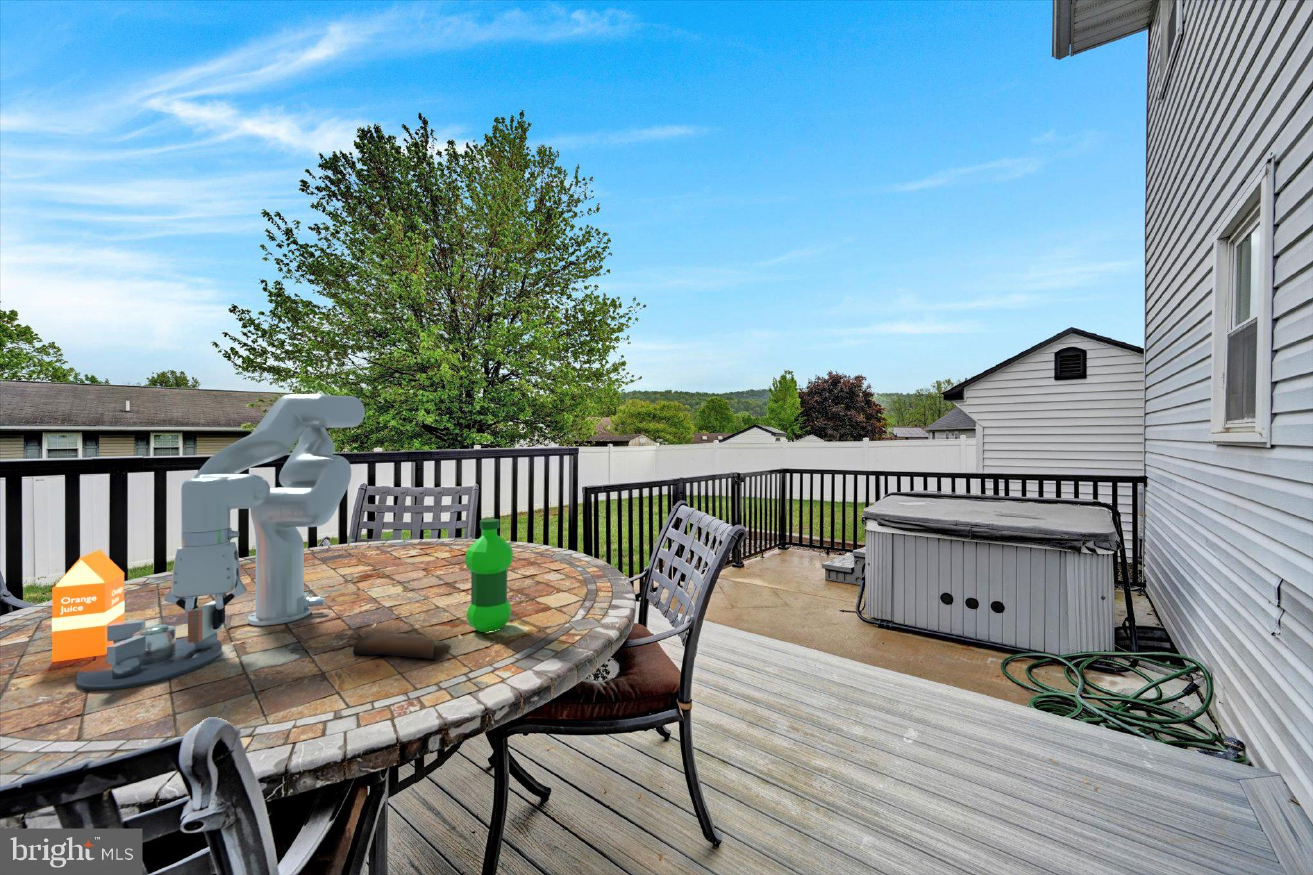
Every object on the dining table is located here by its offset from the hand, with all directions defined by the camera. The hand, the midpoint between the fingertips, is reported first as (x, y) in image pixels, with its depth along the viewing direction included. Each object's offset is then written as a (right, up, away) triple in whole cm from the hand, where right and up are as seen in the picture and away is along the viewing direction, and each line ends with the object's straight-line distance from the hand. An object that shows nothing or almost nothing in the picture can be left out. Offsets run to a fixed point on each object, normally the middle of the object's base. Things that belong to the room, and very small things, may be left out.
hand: (206, 627), depth 106 cm
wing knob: (0, -3, 0) cm, 4 cm away
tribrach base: (-5, -5, -6) cm, 9 cm away
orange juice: (-25, -5, +1) cm, 26 cm away
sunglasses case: (+40, -6, +1) cm, 40 cm away
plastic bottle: (+53, -5, +14) cm, 55 cm away
